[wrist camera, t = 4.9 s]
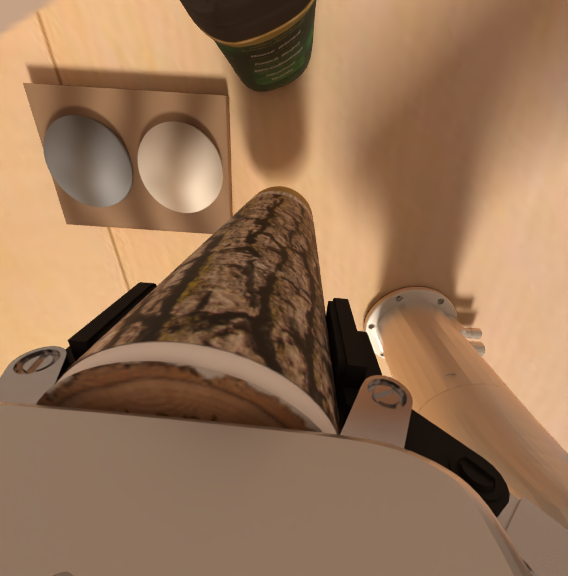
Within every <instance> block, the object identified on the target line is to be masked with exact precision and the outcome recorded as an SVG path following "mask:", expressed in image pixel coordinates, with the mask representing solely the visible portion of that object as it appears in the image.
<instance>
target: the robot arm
mask: <svg viewBox="0 0 568 576" xmlns="http://www.w3.org/2000/svg"><path fill="white" fill-rule="evenodd" d="M156 287H157V286H156V284H154V283H143V282H140V283H138V284H137V285H136V286H134V287H133V288H132V289H131V290H129V291H128V292H127V293H126V294H125V295H123V296H122V297H121V298H120V299H118V300H117V301H116V302H115V303H113V304H112V305H111V306H110V307H108V308H107V309H106V310H105V311H103V312H102V313H101V314H100V315H98V316H97V317H96V318H95V319H93V320H92V321H91V322H90V323H89V324H87V325H86V326H85V327H84V328H82V329H81V330H80V331H79V332H77V333H76V334H75V335H74V336H72V337H71V338H70V339H69V340H68V342H69V345H70V346H69V347H68V348H67V349H66V350H65V349H64V348H61V347H57V346H49V347H42V348H38V349H35V350H32V351H29V352H27V353H25V354H23V355H21V356H19V357H18V358H16V359H15V360H13V361H12V362H11V363H10V364H9V365H8V367H7V368H6V370H5V371H4V373H3V374H2V376H1V377H0V576H568V453H567V452H566V451H565V450H564V449H563V448H562V447H561V446H560V445H559V444H558V443H557V441H556V440H555V439H554V438H553V437H552V436H551V435H550V434H549V433H548V432H547V431H546V430H545V428H544V427H543V426H542V425H541V424H540V423H539V422H538V421H537V420H536V419H535V418H534V416H533V415H532V414H531V413H530V412H529V411H528V410H527V408H526V407H525V406H524V405H523V404H522V403H521V401H520V400H519V399H518V398H517V397H516V396H515V395H514V394H513V392H512V391H511V390H510V389H509V388H508V387H507V385H506V384H505V383H504V382H503V381H502V380H501V378H500V377H499V376H498V375H497V374H496V373H495V372H494V370H493V369H492V368H491V367H490V366H489V365H488V363H487V362H486V361H485V360H484V359H483V358H482V355H483V354H484V353H485V347H484V345H483V343H481V342H475V341H468V340H467V339H466V338H465V337H468V338H476V339H479V338H481V336H482V332H481V330H480V329H479V328H463V326H461V324H460V323H459V322H458V321H457V313H456V309H455V308H454V306H453V304H452V303H451V302H450V301H449V299H448V298H447V297H445V296H444V295H443V294H442V293H440V292H438V291H436V290H434V289H430V288H426V287H407V288H403V289H399V290H396V291H394V292H391V293H389V294H388V295H386V296H384V297H383V298H381V299H380V300H379V301H378V302H377V303H375V304H374V306H373V307H372V308H371V309H370V311H369V313H368V314H367V316H366V319H365V322H364V332H363V331H357V329H356V325H355V322H354V318H353V315H352V311H351V308H350V305H349V301H348V299H341V298H334V299H333V301H328V306H327V313H326V321H327V329H328V337H329V344H330V352H331V360H332V367H333V375H334V383H335V390H336V398H337V406H338V413H339V421H340V429H341V434H340V435H338V434H330V433H322V432H313V431H304V430H295V429H286V428H276V427H267V426H257V425H247V424H237V423H227V422H218V421H207V420H197V419H187V418H177V417H166V416H156V415H145V414H135V413H124V412H113V411H102V410H91V409H80V408H69V407H58V406H47V405H36V403H37V401H38V400H39V399H40V398H41V397H42V395H43V394H44V393H45V392H46V391H47V390H48V389H50V388H51V387H52V386H53V385H55V384H56V382H57V380H58V379H59V378H60V377H61V376H62V374H63V373H64V372H65V371H66V370H67V369H68V368H69V367H70V366H72V365H73V364H74V363H75V362H76V361H77V360H78V359H79V358H80V357H81V356H82V355H83V354H84V353H86V352H87V351H88V350H89V349H90V348H91V347H92V346H93V345H94V344H95V343H96V342H97V341H99V340H100V339H101V338H102V337H103V336H104V335H105V334H106V333H107V332H108V331H109V330H110V329H111V328H113V327H114V326H115V325H116V324H117V323H118V322H119V321H120V320H121V319H122V318H123V317H124V316H126V315H127V314H128V313H129V312H130V311H131V310H132V309H133V308H134V307H135V306H136V305H137V304H138V303H140V302H141V301H142V300H143V299H144V298H145V297H146V296H147V295H148V294H149V293H150V292H151V291H153V290H154V289H155V288H156ZM375 354H376V355H377V356H379V357H381V358H383V359H385V360H386V362H387V365H388V367H389V370H390V372H391V375H392V377H393V378H391V377H387V376H382V373H381V370H380V367H379V365H378V362H377V359H376V356H375Z"/></svg>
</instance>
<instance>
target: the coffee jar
mask: <svg viewBox="0 0 568 576" xmlns="http://www.w3.org/2000/svg"><path fill="white" fill-rule="evenodd" d="M180 1H181V3H182V4H183V6H184V7H185V9H186V11H187V12H188V14H189V16H190V17H191V18H192V20H193V21H194V22H195V24H196V25H197V26H198V27H199V28H200V29H201V30H202V31H203V32H204V33H205V34H206V35H208V36H209V37H210V38H212V39H213V40H214V41H215V42H216V44H217V45H218V47H219V48H220V50H221V51H222V52H223V54H224V55H225V57H226V58H227V60H228V61H229V63H230V64H231V66H232V67H233V69H234V71H235V72H236V74H237V75H238V76H239V78H240V79H241V80H242V82H243V83H244V84H245V85H246V86H247V87H249V88H251V89H252V90H255V91H269V90H273V89H275V88H278V87H281V86H283V85H286V84H288V83H290V82H291V81H293V80H295V79H296V78H297V77H299V76H300V75H301V74H302V73H303V72H304V70H305V69H306V67H307V65H308V63H309V60H310V57H311V51H312V43H313V31H314V17H315V7H316V0H180Z"/></svg>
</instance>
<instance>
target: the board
mask: <svg viewBox="0 0 568 576" xmlns="http://www.w3.org/2000/svg"><path fill="white" fill-rule="evenodd" d="M23 84H24V88H25V91H26V94H27V97H28V101H29V104H30V107H31V110H32V113H33V117H34V120H35V123H36V126H37V130H38V133H39V136H40V139H41V143H42V146H43V149H44V156H45V160H46V163H47V166H48V169H49V171H50V173H51V175H52V178H53V181H54V184H55V188H56V191H57V194H58V197H59V201H60V204H61V207H62V210H63V214H64V217H65V220H66V223H67V224H72V225H87V226H102V227H117V228H132V229H146V230H161V231H176V232H191V233H206V234H214V233H215V232H216V231H217V230H218V229H219V228H221V227H222V226H223V225H224V224H225V223H226V222H227V221H228V220H229V219H230V218H231V217H232V216H233V214H232V181H231V147H230V113H229V97H227V96H226V95H210V94H194V93H178V92H162V91H146V90H129V89H113V88H97V87H81V86H65V85H48V84H32V83H23Z"/></svg>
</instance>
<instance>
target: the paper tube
mask: <svg viewBox="0 0 568 576" xmlns="http://www.w3.org/2000/svg"><path fill="white" fill-rule="evenodd" d="M36 405H47V406H58V407H69V408H80V409H91V410H102V411H113V412H124V413H135V414H145V415H156V416H166V417H177V418H187V419H197V420H207V421H218V422H227V423H237V424H247V425H257V426H267V427H276V428H286V429H295V430H304V431H313V432H322V433H330V434H338V435H340V434H341V429H340V421H339V413H338V406H337V398H336V390H335V383H334V375H333V367H332V360H331V352H330V344H329V337H328V329H327V321H326V313H325V306H324V298H323V290H322V283H321V275H320V267H319V260H318V252H317V244H316V237H315V229H314V222H313V216H312V211H311V209H310V206H309V204H308V203H307V201H306V200H305V199H304V198H303V196H301V195H300V194H299V193H298V192H296V191H294V190H292V189H290V188H287V187H280V186H278V187H270V188H267V189H264V190H262V191H261V192H259V193H258V194H257V195H256V196H254V197H253V198H252V199H251V200H250V201H249V202H248V203H246V204H245V205H244V206H243V207H242V208H241V209H240V210H239V211H238V212H237V213H236V214H235V215H234V216H232V217H231V218H230V219H229V220H228V221H227V222H226V223H225V224H224V225H223V226H222V227H221V228H219V229H218V230H217V231H216V232H215V233H214V234H213V235H212V236H211V237H210V238H209V239H208V240H207V241H205V242H204V243H203V244H202V245H201V246H200V247H199V248H198V249H197V250H196V251H195V252H194V253H192V254H191V255H190V256H189V257H188V258H187V259H186V260H185V261H184V262H183V263H182V264H181V265H180V266H178V267H177V268H176V269H175V270H174V271H173V272H172V273H171V274H170V275H169V276H168V277H167V278H165V279H164V280H163V281H162V282H161V283H160V284H159V285H158V286H157V287H156V288H155V289H154V290H153V291H151V292H150V293H149V294H148V295H147V296H146V297H145V298H144V299H143V300H142V301H141V302H140V303H138V304H137V305H136V306H135V307H134V308H133V309H132V310H131V311H130V312H129V313H128V314H127V315H126V316H124V317H123V318H122V319H121V320H120V321H119V322H118V323H117V324H116V325H115V326H114V327H113V328H111V329H110V330H109V331H108V332H107V333H106V334H105V335H104V336H103V337H102V338H101V339H100V340H99V341H97V342H96V343H95V344H94V345H93V346H92V347H91V348H90V349H89V350H88V351H87V352H86V353H84V354H83V355H82V356H81V357H80V358H79V359H78V360H77V361H76V362H75V363H74V364H73V365H72V366H70V367H69V368H68V369H67V370H66V371H65V372H64V373H63V374H62V376H61V377H60V378H59V379H58V380H57V382H56V384H55V385H53V386H52V387H51V388H50V389H48V390H47V391H46V392H45V393H44V394H43V395H42V397H41V398H40V399H39V400H38V401H37V403H36Z"/></svg>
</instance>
